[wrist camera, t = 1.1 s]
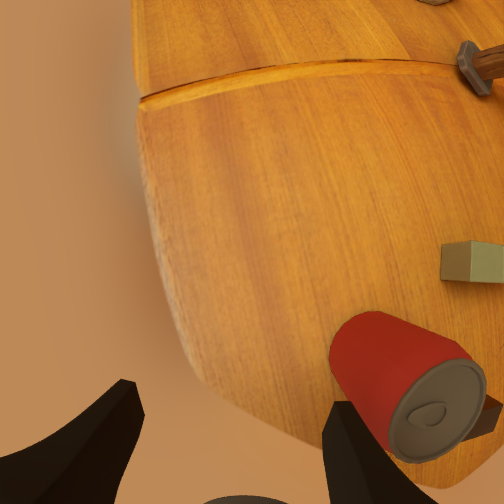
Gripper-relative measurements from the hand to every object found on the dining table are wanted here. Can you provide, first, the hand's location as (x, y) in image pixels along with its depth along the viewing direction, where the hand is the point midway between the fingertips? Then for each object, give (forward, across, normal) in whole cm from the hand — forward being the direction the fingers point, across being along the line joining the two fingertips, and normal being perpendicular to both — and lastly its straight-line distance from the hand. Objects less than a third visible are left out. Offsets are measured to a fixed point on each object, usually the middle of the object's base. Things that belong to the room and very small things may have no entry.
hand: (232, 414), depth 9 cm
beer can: (+11, -10, +5) cm, 16 cm away
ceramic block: (+14, -20, -2) cm, 24 cm away
